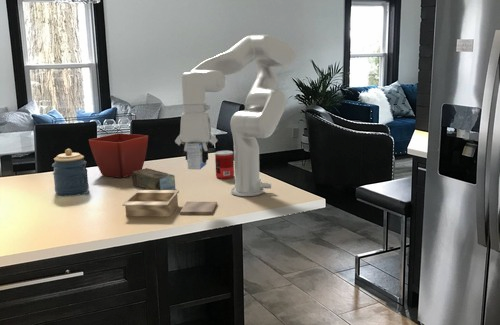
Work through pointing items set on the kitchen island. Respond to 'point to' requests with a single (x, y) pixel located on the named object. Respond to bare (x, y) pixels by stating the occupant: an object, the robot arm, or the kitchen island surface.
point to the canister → (70, 174)
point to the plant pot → (119, 153)
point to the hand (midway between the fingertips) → (197, 161)
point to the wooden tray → (152, 203)
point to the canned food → (224, 164)
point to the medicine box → (195, 156)
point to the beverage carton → (153, 179)
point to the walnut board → (198, 208)
